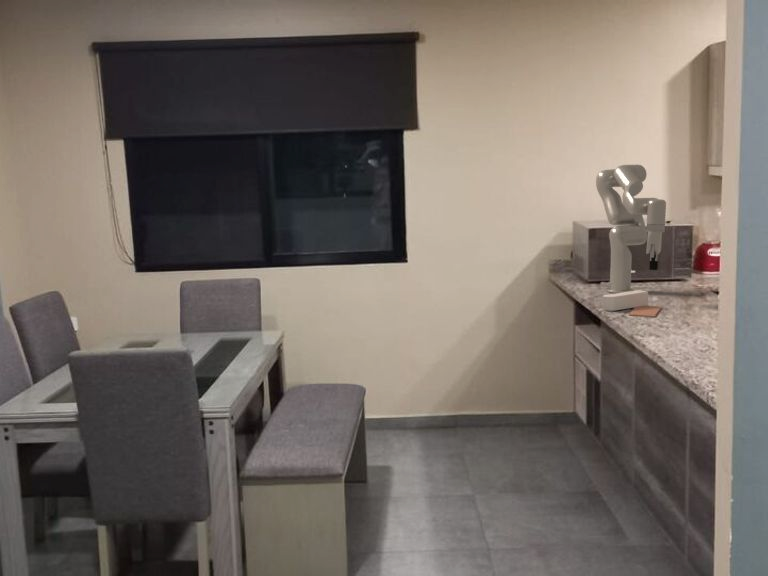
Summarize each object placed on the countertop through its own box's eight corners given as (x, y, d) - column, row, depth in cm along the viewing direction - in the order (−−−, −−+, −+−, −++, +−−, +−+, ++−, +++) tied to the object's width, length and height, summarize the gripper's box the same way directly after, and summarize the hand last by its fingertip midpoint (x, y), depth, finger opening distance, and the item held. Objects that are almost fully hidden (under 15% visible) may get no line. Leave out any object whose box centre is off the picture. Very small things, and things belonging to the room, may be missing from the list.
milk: (638, 303, 329) (597, 310, 321) (638, 289, 328) (597, 296, 320) (648, 305, 323) (607, 312, 315) (648, 291, 322) (606, 297, 314)
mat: (628, 315, 308) (628, 314, 307) (636, 306, 325) (636, 305, 325) (654, 317, 303) (654, 315, 303) (661, 308, 321) (661, 306, 320)
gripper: (649, 225, 336) (647, 266, 339) (643, 229, 323) (641, 271, 326) (667, 226, 333) (664, 267, 336) (662, 230, 320) (659, 272, 323)
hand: (653, 269), depth 331 cm, fingers closed
